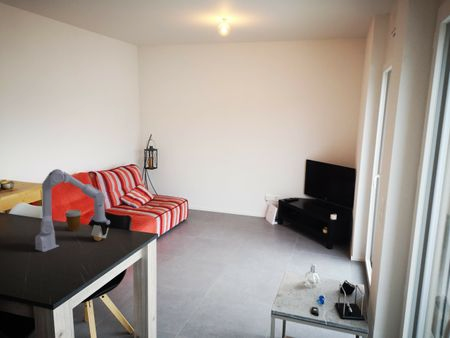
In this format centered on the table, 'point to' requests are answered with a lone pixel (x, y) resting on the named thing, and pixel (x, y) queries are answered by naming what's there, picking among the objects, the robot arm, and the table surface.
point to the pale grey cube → (98, 231)
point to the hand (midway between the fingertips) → (100, 233)
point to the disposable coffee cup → (73, 219)
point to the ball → (97, 238)
